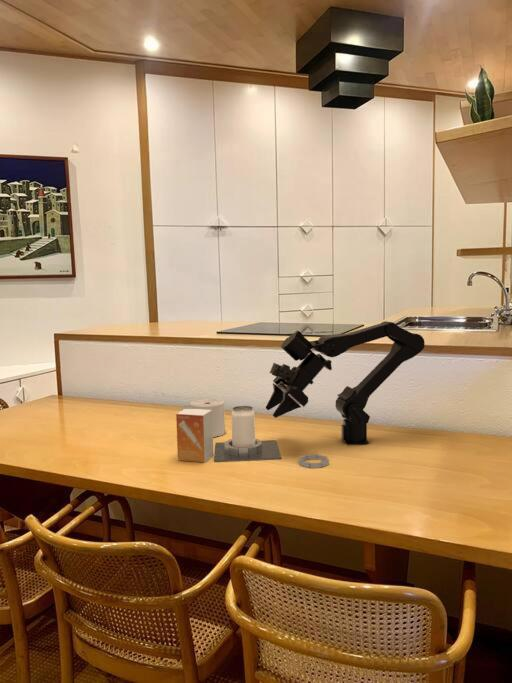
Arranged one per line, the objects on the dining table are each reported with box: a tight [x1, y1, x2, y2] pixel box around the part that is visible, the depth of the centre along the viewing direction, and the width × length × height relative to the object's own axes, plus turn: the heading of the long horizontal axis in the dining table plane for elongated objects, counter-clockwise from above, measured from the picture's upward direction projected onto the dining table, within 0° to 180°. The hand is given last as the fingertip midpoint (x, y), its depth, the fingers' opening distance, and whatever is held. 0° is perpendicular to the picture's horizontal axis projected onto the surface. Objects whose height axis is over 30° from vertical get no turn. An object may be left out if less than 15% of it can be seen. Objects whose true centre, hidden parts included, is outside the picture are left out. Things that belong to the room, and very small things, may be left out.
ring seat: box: [213, 437, 282, 463], centre depth 148 cm, size 18×16×2 cm
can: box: [230, 405, 256, 448], centre depth 148 cm, size 6×6×12 cm
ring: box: [297, 453, 330, 469], centre depth 137 cm, size 8×8×1 cm
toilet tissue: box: [180, 398, 226, 438], centre depth 166 cm, size 11×12×10 cm
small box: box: [175, 409, 214, 463], centre depth 143 cm, size 8×6×13 cm
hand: (270, 412), depth 149 cm, fingers open, 9 cm apart
